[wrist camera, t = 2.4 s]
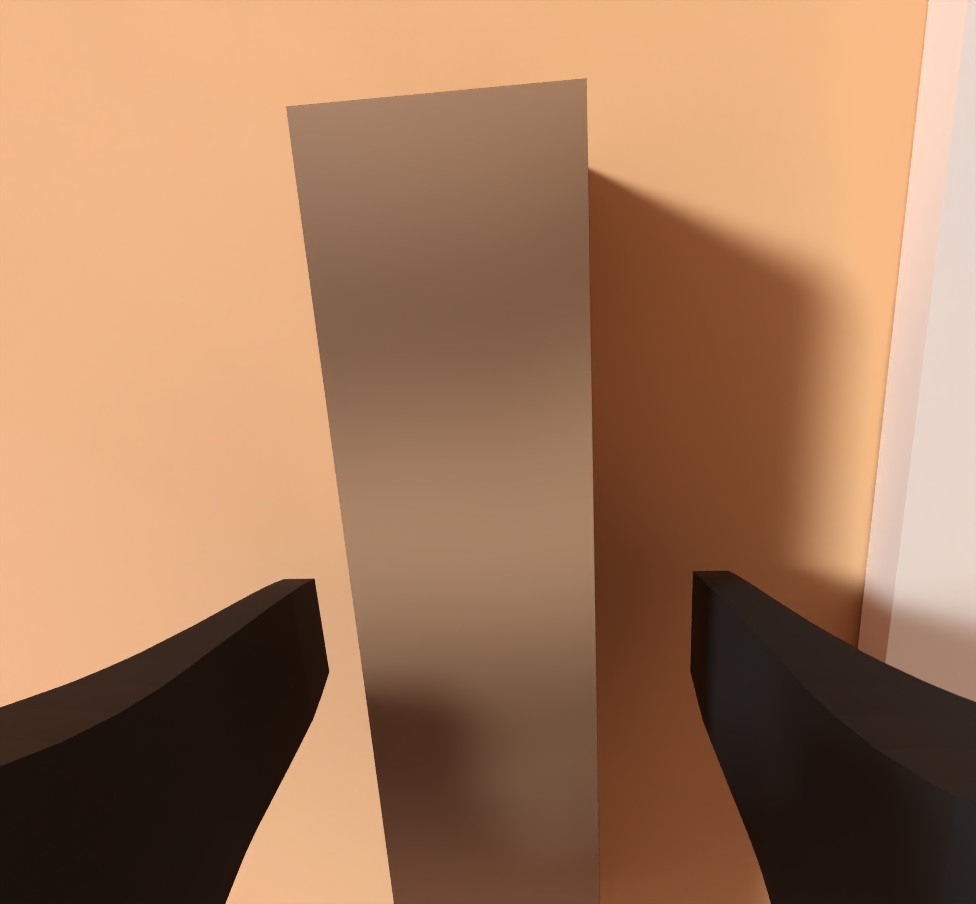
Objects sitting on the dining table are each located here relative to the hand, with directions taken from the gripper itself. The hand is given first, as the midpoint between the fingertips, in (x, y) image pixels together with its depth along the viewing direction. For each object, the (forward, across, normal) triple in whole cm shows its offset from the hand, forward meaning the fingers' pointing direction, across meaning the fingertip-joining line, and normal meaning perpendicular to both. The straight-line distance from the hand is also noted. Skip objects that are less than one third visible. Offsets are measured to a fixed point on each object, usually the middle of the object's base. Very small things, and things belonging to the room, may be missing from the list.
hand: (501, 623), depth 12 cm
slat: (+2, 0, 0) cm, 2 cm away
